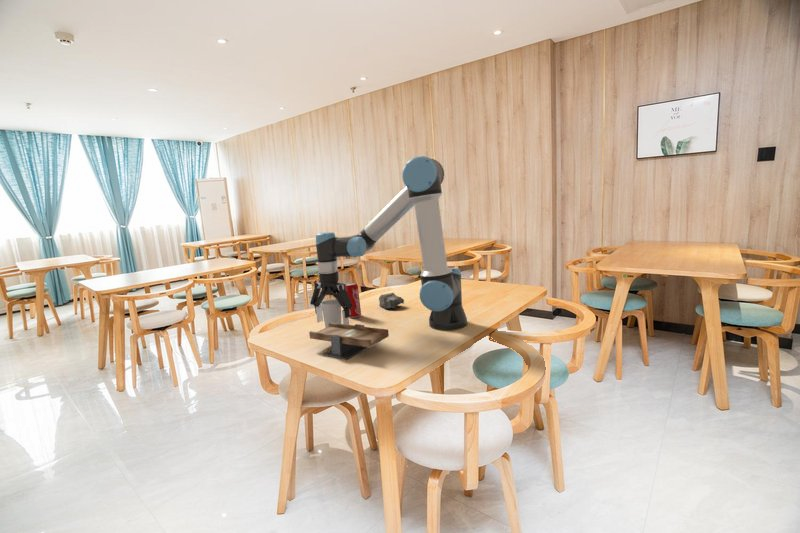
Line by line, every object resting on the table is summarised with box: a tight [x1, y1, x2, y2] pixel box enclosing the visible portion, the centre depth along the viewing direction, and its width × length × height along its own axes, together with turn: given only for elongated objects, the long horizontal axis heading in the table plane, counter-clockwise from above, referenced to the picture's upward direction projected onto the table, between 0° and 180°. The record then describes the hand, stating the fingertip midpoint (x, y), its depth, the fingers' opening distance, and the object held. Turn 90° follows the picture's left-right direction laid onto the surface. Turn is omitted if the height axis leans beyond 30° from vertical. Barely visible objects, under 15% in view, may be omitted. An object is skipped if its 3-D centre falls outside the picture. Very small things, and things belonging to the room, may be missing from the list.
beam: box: [308, 323, 390, 348], centre depth 141 cm, size 26×11×2 cm, turn 59°
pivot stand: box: [323, 323, 369, 361], centre depth 141 cm, size 10×16×7 cm, turn 149°
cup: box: [321, 298, 342, 328], centre depth 162 cm, size 8×8×12 cm
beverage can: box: [345, 282, 362, 319], centre depth 180 cm, size 6×6×15 cm
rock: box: [378, 292, 405, 310], centre depth 191 cm, size 13×9×6 cm, turn 58°
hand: (333, 323), depth 163 cm, fingers open, 13 cm apart
